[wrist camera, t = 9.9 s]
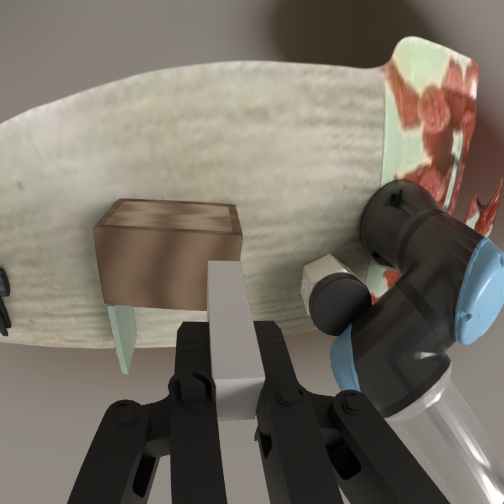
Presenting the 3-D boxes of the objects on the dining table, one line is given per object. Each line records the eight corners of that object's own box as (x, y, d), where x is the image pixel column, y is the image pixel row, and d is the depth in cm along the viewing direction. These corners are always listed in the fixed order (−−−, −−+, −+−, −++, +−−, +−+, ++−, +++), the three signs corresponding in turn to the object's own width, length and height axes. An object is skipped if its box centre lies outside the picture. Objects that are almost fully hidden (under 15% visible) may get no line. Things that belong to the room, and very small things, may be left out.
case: (235, 204, 38) (242, 236, 29) (228, 268, 42) (233, 311, 33) (119, 198, 35) (93, 228, 26) (123, 262, 39) (104, 303, 31)
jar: (303, 250, 44) (316, 271, 33) (352, 254, 44) (378, 276, 32) (296, 302, 46) (305, 338, 35) (343, 305, 46) (363, 339, 34)
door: (113, 267, 39) (95, 304, 31) (129, 269, 39) (114, 306, 32) (123, 333, 45) (113, 371, 37) (136, 335, 46) (128, 374, 38)
